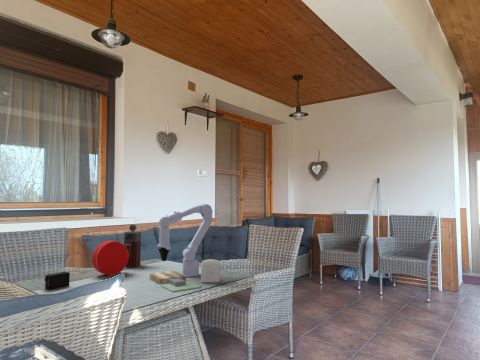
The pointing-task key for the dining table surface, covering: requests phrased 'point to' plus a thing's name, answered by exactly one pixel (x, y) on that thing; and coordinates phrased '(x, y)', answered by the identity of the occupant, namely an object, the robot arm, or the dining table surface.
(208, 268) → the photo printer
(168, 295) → the dining table surface
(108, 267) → the red thick disc
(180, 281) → the slate tile
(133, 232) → the glass decanter
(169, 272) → the deck
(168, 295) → the dining table surface
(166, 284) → the mat
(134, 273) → the dining table surface
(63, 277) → the digital camera
